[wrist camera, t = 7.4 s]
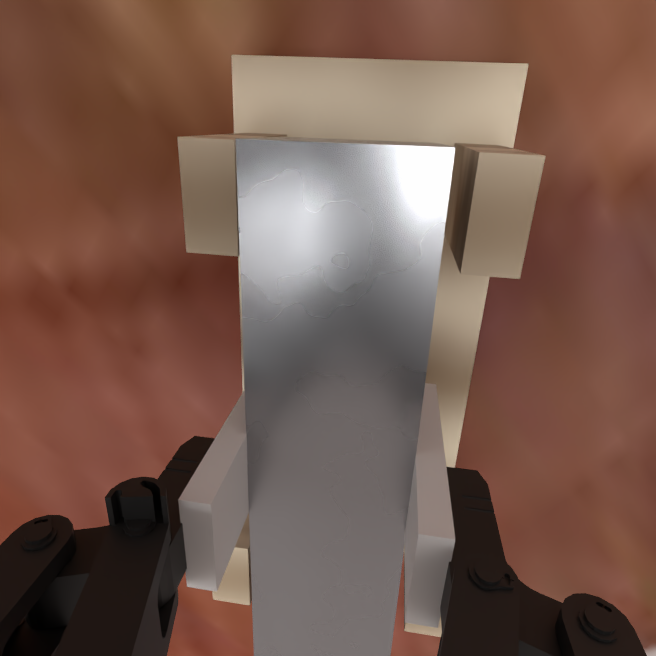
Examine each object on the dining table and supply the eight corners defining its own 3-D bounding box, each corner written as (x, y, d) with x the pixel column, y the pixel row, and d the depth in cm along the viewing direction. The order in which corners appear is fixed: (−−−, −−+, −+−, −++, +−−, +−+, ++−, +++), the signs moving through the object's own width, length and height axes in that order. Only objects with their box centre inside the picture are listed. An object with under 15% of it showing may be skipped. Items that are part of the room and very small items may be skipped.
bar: (283, 136, 14) (235, 138, 10) (438, 143, 14) (455, 147, 10) (283, 578, 21) (255, 687, 17) (386, 593, 21) (383, 710, 16)
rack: (248, 61, 19) (148, 21, 11) (515, 69, 17) (596, 31, 10) (257, 501, 27) (204, 638, 20) (435, 526, 26) (448, 682, 19)
